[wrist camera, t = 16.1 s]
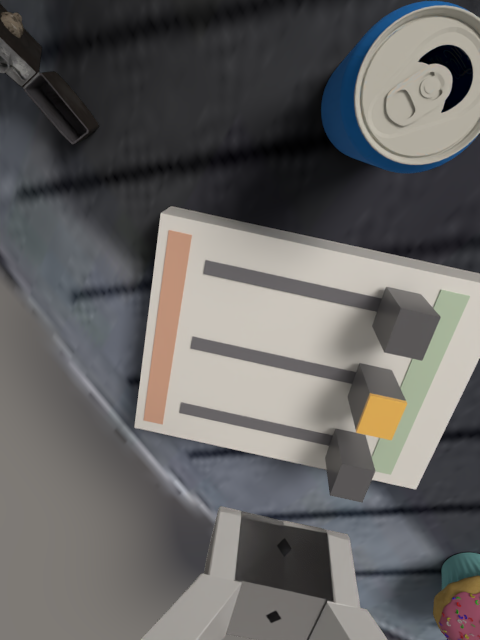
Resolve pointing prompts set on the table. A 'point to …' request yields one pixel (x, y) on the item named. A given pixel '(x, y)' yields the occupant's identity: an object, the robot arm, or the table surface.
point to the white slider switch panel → (293, 342)
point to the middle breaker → (376, 401)
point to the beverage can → (408, 89)
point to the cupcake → (459, 598)
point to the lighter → (41, 80)
